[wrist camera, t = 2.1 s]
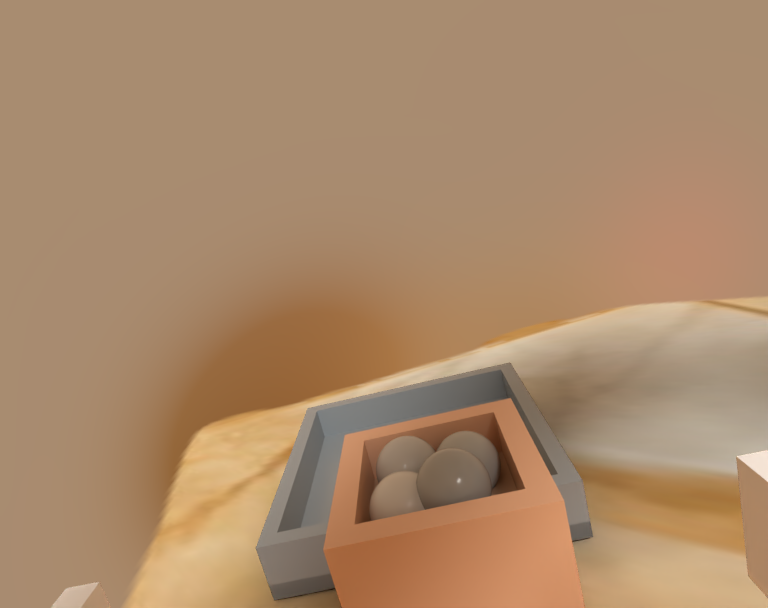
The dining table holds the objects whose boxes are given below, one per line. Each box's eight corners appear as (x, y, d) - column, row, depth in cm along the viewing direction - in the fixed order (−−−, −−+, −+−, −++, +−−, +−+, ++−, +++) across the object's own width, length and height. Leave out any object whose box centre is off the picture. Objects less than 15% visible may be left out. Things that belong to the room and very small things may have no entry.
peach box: (548, 576, 27) (506, 378, 25) (610, 738, 19) (558, 472, 17) (394, 606, 28) (339, 416, 25) (395, 775, 20) (315, 524, 17)
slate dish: (517, 399, 46) (510, 362, 45) (592, 536, 29) (582, 480, 28) (318, 443, 48) (307, 408, 47) (274, 600, 30) (255, 548, 29)
